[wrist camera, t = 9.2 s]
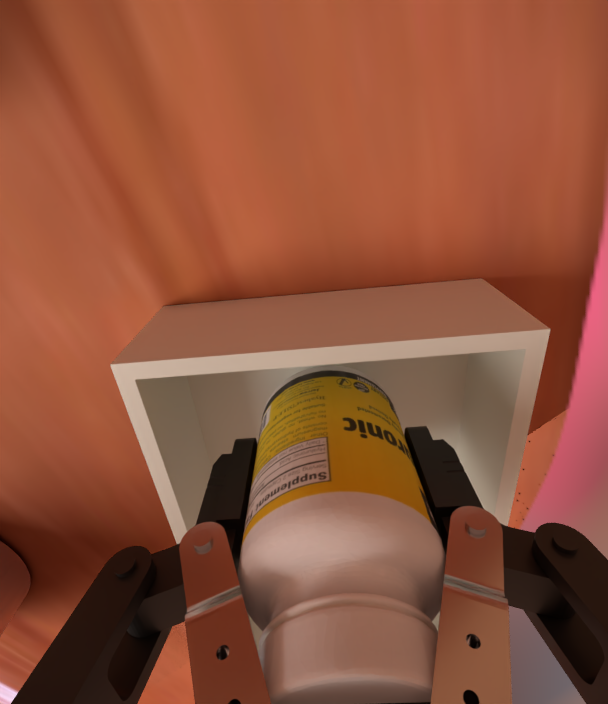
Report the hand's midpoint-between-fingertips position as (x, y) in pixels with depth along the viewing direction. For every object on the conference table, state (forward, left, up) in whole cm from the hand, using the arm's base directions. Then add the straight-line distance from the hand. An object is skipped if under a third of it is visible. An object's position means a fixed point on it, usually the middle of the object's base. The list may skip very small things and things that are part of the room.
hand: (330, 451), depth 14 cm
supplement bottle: (0, 0, -2) cm, 2 cm away
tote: (-3, -3, -4) cm, 6 cm away
